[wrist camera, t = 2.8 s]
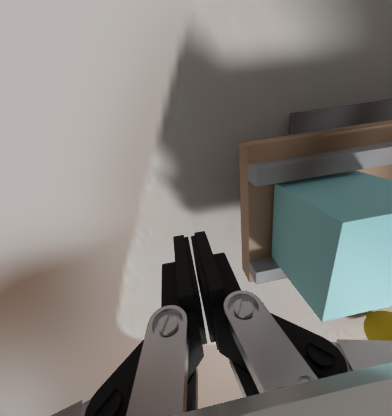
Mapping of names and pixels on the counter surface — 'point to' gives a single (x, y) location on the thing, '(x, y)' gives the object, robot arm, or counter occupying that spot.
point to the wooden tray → (306, 168)
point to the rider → (336, 241)
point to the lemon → (378, 325)
